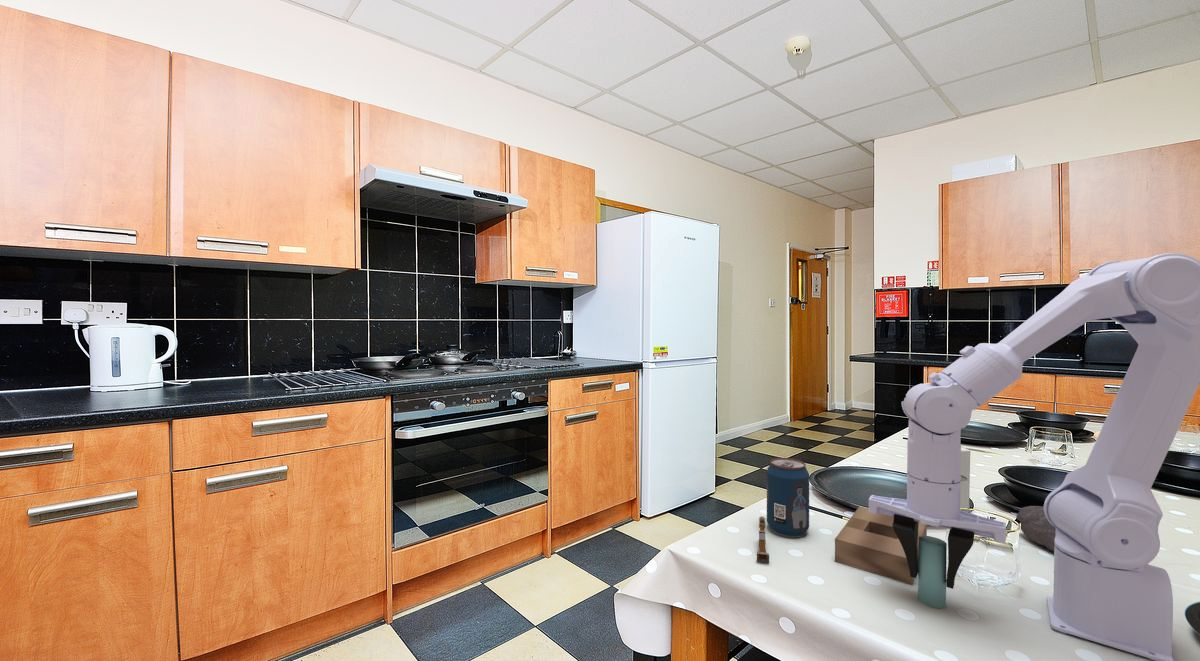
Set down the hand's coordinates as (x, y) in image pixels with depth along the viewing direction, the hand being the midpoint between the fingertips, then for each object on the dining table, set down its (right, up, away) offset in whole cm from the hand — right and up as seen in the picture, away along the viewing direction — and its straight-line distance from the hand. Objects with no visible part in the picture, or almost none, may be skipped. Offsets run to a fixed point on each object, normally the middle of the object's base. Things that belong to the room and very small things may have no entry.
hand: (932, 579), depth 62 cm
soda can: (-11, -3, +21) cm, 24 cm away
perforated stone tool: (+29, -3, +12) cm, 32 cm away
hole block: (+1, -3, +13) cm, 14 cm away
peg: (0, -3, 0) cm, 3 cm away
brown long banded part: (-18, -3, +14) cm, 23 cm away
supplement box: (+22, -2, +30) cm, 37 cm away
